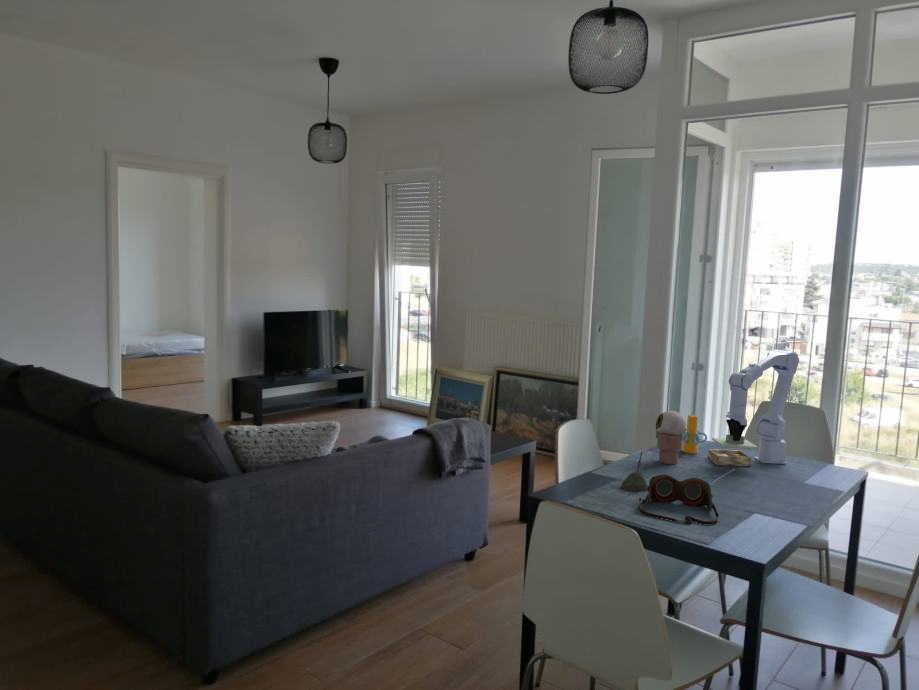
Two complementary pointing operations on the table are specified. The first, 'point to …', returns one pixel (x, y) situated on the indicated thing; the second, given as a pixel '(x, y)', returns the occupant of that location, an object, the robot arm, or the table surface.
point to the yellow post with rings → (692, 435)
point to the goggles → (679, 495)
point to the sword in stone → (635, 481)
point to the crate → (729, 457)
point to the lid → (734, 443)
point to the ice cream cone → (669, 435)
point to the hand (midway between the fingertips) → (734, 439)
